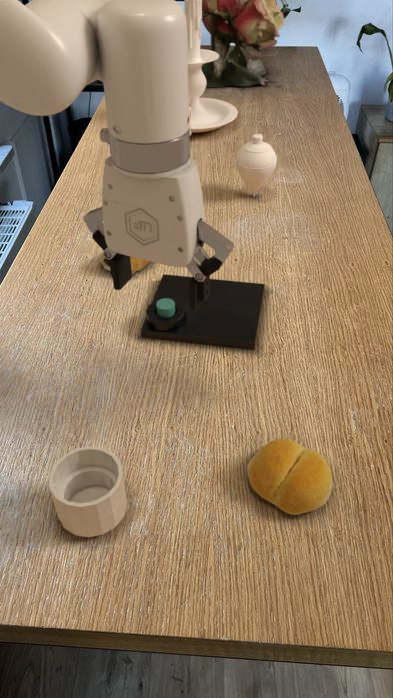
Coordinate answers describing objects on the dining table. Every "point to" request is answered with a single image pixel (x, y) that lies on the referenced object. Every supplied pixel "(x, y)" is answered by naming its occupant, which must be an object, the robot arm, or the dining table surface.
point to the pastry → (135, 263)
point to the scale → (207, 314)
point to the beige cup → (88, 491)
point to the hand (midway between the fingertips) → (160, 293)
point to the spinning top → (256, 162)
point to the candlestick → (202, 78)
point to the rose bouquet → (239, 39)
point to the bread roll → (290, 476)
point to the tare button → (165, 307)
